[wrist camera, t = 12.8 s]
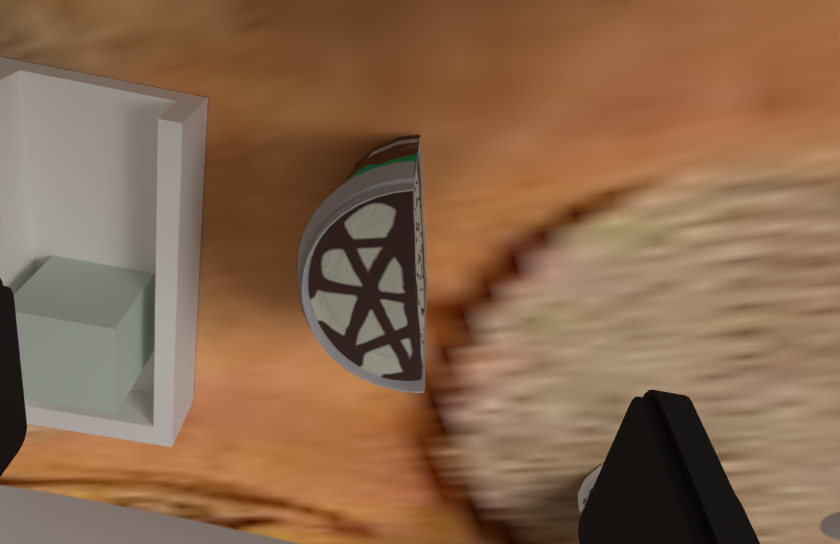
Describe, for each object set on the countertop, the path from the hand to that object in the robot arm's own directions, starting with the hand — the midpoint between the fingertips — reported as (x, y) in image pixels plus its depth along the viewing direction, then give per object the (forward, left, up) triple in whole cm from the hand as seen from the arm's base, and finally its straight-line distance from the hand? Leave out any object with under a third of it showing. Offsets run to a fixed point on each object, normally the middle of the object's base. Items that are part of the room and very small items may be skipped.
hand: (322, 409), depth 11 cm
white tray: (+17, -20, -30) cm, 40 cm away
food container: (+11, 0, -31) cm, 32 cm away
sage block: (+20, -15, -29) cm, 38 cm away
